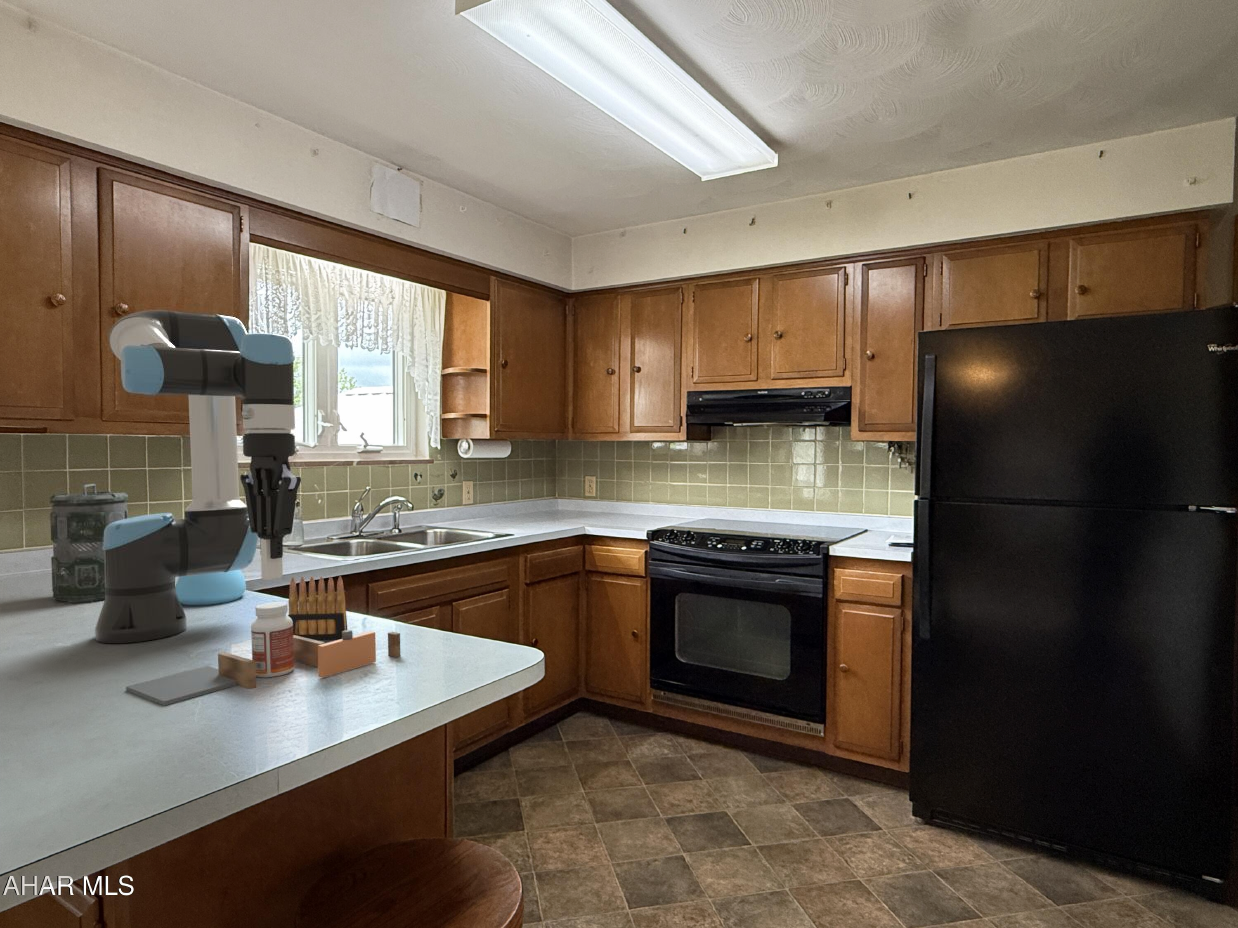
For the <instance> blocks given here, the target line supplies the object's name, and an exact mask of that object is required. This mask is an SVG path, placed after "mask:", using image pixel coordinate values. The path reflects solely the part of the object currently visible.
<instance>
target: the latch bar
mask: <svg viewBox="0 0 1238 928" xmlns="http://www.w3.org/2000/svg"><path fill="white" fill-rule="evenodd" d="M376 643H377V641H376V632H375V631H366V632H363V633H360V634H359V633H358V634H355V635H354V634H353V630H351V629H347V630H345V631H342V639H340V640H331V641H328V642H325V644H321V645H318V667H317V670H318V674H317V675H318V676H317V677H318V678H322V679H324V678H325V679H326V678H327V677H331V676H333V675H337V674H341V673H344V672H347V671H350V670H353V669H357V668H360V667H363V666H367V665H370V664H374V663H376V662H377V656H376V655H377V652H376V651H377V650H376V648H377V647H376V645H377V644H376Z"/></svg>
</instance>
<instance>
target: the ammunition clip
mask: <svg viewBox="0 0 1238 928" xmlns="http://www.w3.org/2000/svg"><path fill="white" fill-rule="evenodd" d="M343 581H344V580H343V578H342V576H341V575H340V576H338V580H337V583H336V592H335V583H334V579H333V577H332V576H329V578H328V582H327V596H326V586H325V581H324V578H323V577H322V576H320V578H319V580H318V586H317V587H318V588H317V587H316V582H315V579H314V577H313V576H310V579H309V583H308V597H307V586H306V582H305V579H304V577H303V576H302V577H301V578H300V580H299V586H298V592H297V584H296V580H295V578H294V577H293V576H292V577H291V579H290V582H289V583H290V584H289V594H288V595H289V597H288V615H287V616H288V617H290V618H291V619H292V621H293V635H296V636H300V637H304V638H308V639H313V640H317V641H321V642H324V641H325V642H326V641H336V640H340V639H342V631H345V630H348V620H347V611H346V597H345V589H344V583H343ZM316 589H317V591H318V592H317V591H316Z"/></svg>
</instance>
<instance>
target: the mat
mask: <svg viewBox="0 0 1238 928" xmlns="http://www.w3.org/2000/svg"><path fill="white" fill-rule="evenodd" d="M234 686H238V685H237V681H236V680H233V679H230V678H227V677H224V676H220V675H219V672H218V668H216V667H212V666H209V665H205V666H202V667H198V668H194V669H190V670H186V671H185V670H184V671H181V672H178V673H174V674H170V675H167V676H162V677H161V676H160V677H158V678H154V679H150V680H147V681H143V682H139V683H134V684H131V685H127V686H125V691H127V692H129V693H132V694H134V695H137V696H139V697H142V698H145V699H147V700H149V701H151V702H153V703H154V702H155V703H157V704H159V705H162V706H167V705H171V704H174V703H178V702H181V701H185V700H188V699H193V698H195V697H198V696H202V695H205V694H210V693H213V692H217V691H219V690H223V689H227V688H231V687H234Z"/></svg>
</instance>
